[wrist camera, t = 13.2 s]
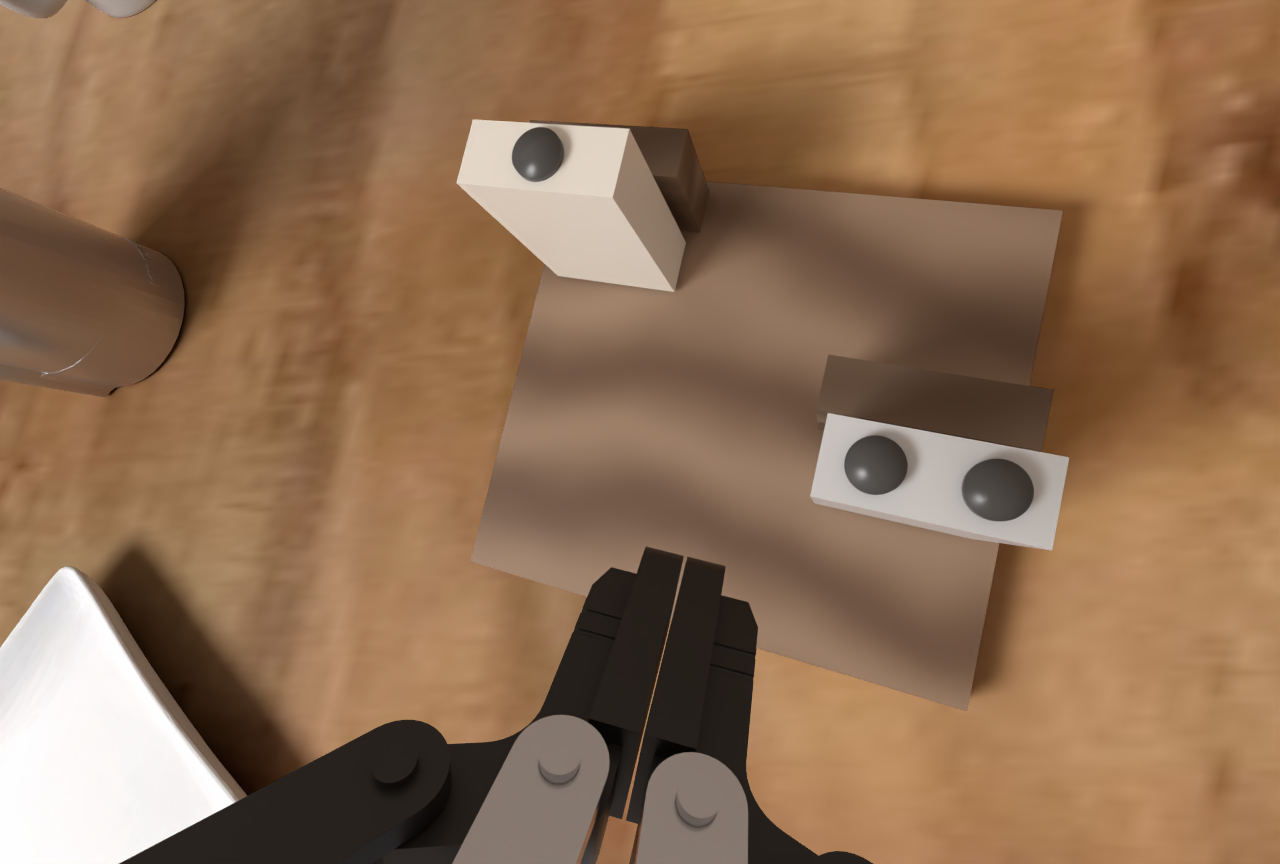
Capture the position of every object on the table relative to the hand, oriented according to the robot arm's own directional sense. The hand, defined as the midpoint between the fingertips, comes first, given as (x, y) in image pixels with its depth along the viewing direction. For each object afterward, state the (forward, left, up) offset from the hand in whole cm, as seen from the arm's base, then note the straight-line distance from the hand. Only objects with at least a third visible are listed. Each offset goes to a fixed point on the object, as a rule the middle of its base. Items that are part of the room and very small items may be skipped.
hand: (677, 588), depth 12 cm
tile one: (+4, +14, -16) cm, 22 cm away
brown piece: (+3, +5, -17) cm, 18 cm away
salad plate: (-39, +13, -18) cm, 45 cm away
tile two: (+6, -2, -16) cm, 17 cm away
